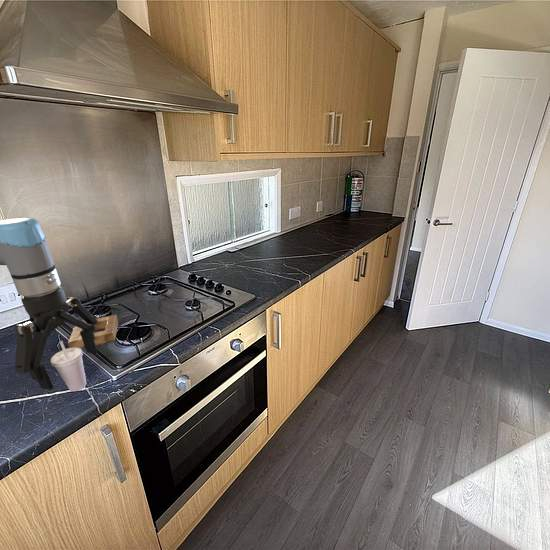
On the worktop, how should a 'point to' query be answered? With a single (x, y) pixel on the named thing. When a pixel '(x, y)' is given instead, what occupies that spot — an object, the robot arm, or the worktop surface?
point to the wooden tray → (100, 337)
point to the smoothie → (70, 367)
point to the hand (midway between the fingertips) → (71, 368)
